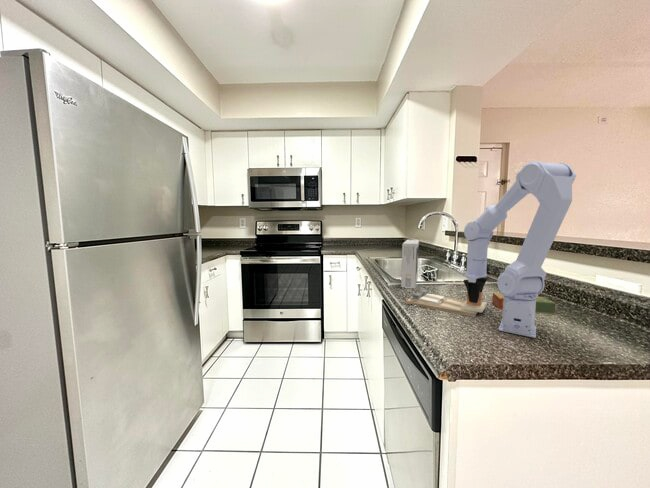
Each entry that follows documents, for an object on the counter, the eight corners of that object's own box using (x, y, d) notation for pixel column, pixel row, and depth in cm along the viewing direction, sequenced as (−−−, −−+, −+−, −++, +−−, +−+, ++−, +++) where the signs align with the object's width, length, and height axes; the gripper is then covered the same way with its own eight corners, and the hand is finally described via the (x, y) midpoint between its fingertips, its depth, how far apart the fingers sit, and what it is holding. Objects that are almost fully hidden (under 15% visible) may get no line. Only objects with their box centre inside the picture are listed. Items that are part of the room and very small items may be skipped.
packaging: (415, 289, 120) (417, 243, 118) (400, 288, 122) (402, 243, 120) (417, 277, 148) (419, 239, 146) (405, 276, 150) (406, 239, 148)
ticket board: (474, 317, 85) (475, 306, 85) (405, 303, 98) (405, 295, 98) (481, 306, 96) (482, 297, 96) (418, 295, 109) (418, 287, 109)
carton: (491, 303, 101) (492, 292, 101) (544, 308, 96) (545, 296, 96) (498, 310, 93) (499, 297, 93) (555, 315, 88) (556, 302, 88)
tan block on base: (481, 312, 85) (482, 296, 85) (460, 308, 89) (461, 293, 89) (486, 305, 93) (487, 290, 93) (466, 302, 97) (467, 288, 97)
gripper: (467, 256, 98) (465, 294, 99) (458, 260, 87) (456, 303, 88) (490, 258, 94) (488, 297, 95) (484, 262, 82) (481, 307, 83)
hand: (474, 300), depth 91 cm, fingers open, 5 cm apart
